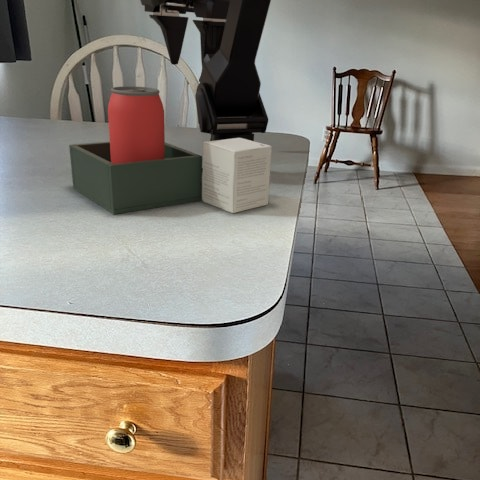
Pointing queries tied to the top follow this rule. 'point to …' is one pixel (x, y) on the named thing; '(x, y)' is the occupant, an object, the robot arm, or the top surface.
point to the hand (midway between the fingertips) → (189, 67)
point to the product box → (236, 174)
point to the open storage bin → (136, 178)
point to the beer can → (136, 124)
